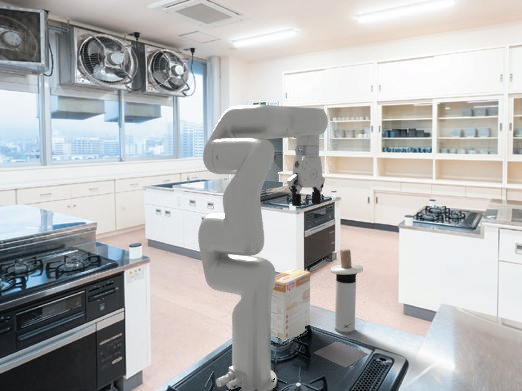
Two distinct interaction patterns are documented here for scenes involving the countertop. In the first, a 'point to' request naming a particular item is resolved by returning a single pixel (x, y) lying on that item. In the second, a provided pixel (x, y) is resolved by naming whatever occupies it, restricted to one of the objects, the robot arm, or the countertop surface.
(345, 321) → the travel mug
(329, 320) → the countertop surface
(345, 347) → the mat
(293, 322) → the coffeecake box
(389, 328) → the countertop surface
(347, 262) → the lid
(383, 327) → the countertop surface
